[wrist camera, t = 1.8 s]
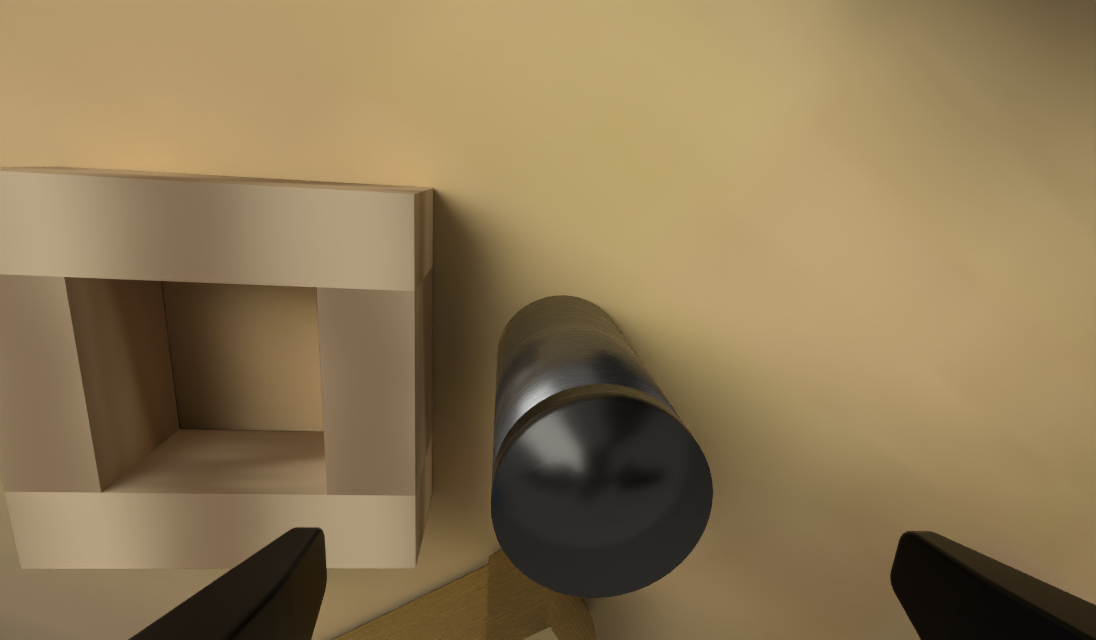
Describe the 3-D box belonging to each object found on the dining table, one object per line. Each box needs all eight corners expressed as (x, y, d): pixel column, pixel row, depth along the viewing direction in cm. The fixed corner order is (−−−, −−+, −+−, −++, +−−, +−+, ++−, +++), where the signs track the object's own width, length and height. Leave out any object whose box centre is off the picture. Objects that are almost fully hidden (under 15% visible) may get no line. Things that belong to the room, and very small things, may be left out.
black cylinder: (628, 298, 17) (727, 404, 10) (617, 416, 18) (697, 596, 11) (499, 293, 17) (495, 398, 9) (495, 413, 18) (487, 598, 10)
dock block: (433, 188, 16) (414, 194, 13) (431, 495, 19) (415, 568, 15) (59, 166, 15) (-69, 167, 12) (113, 492, 18) (21, 568, 14)
